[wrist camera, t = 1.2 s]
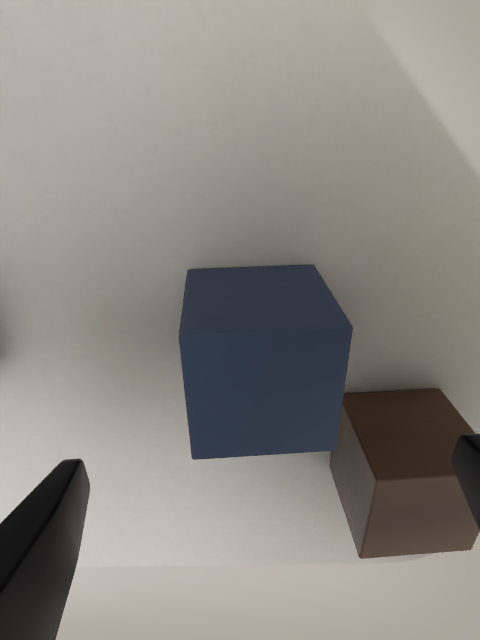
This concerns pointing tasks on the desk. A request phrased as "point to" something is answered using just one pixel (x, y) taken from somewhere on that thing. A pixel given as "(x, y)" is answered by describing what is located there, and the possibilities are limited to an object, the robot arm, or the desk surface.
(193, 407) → the blue block
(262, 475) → the desk surface
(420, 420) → the walnut block
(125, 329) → the desk surface
